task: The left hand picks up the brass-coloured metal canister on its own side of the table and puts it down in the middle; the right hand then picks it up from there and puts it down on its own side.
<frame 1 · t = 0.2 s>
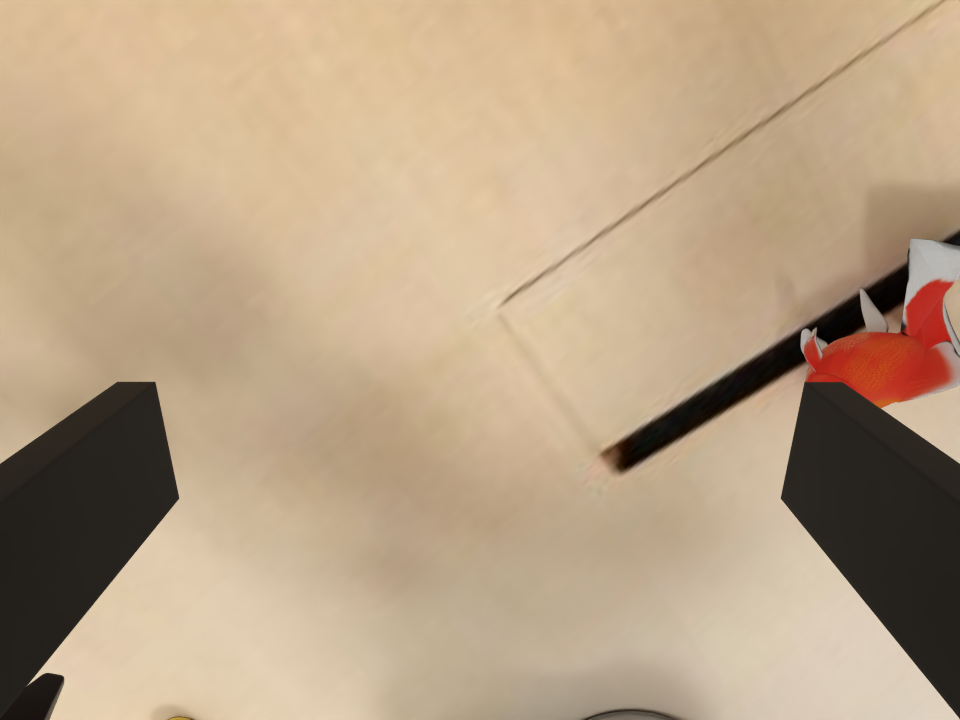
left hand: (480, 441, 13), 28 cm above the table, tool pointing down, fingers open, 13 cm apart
fish: (862, 308, 40), on the table
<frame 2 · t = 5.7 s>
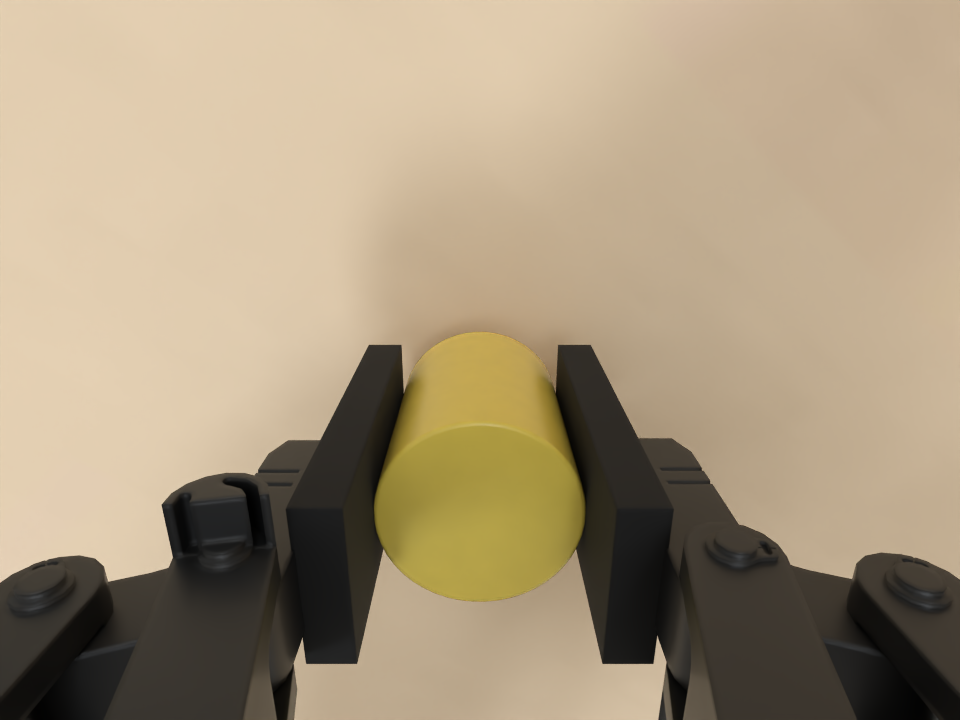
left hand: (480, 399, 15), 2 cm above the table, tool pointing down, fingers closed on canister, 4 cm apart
canister: (479, 401, 15), point 2 cm above the table, touching left hand
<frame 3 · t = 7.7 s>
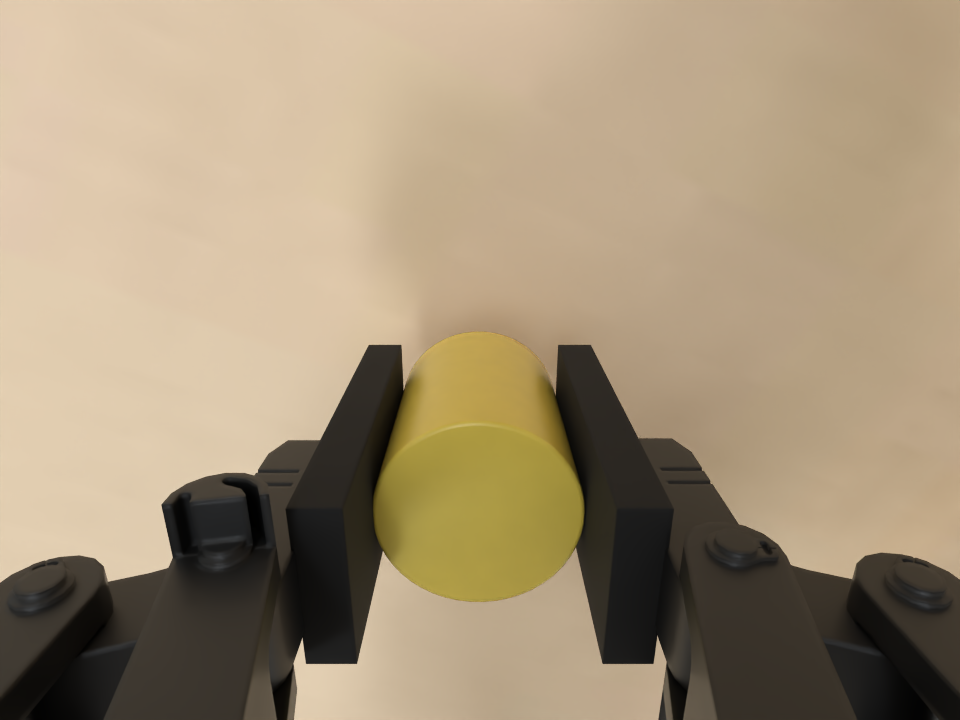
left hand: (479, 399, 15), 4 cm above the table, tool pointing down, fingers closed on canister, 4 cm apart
canister: (478, 401, 15), point 3 cm above the table, touching left hand
when the left hand's fingers open (1 cm above the table, at t = 9.9 s): canister stays where it is, on the table.
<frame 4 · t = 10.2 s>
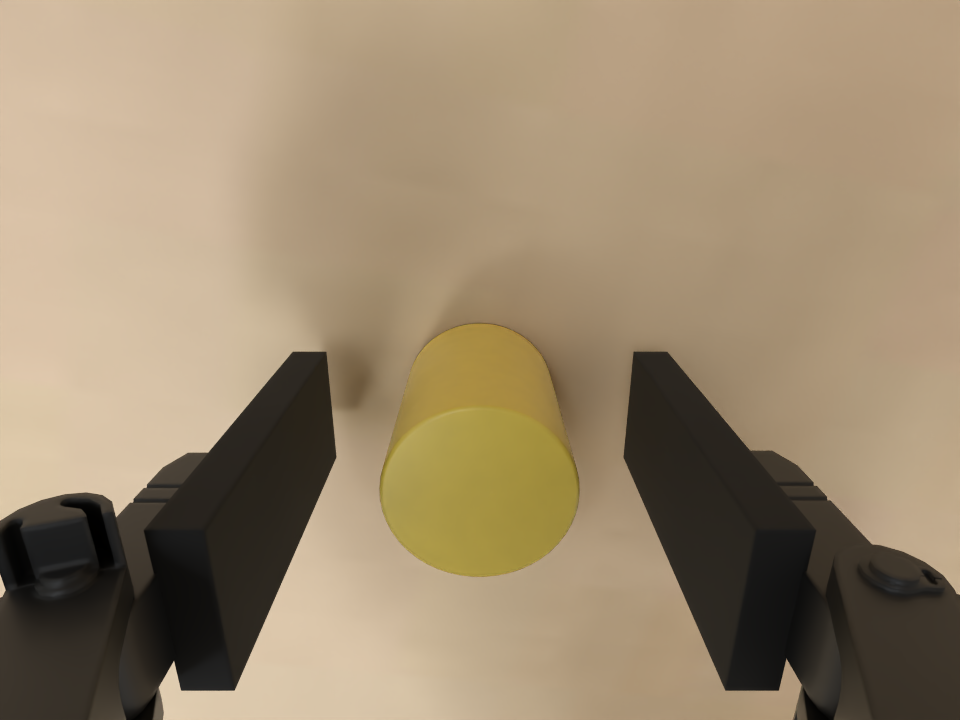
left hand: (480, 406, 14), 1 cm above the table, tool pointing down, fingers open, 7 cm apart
canister: (479, 390, 16), on the table
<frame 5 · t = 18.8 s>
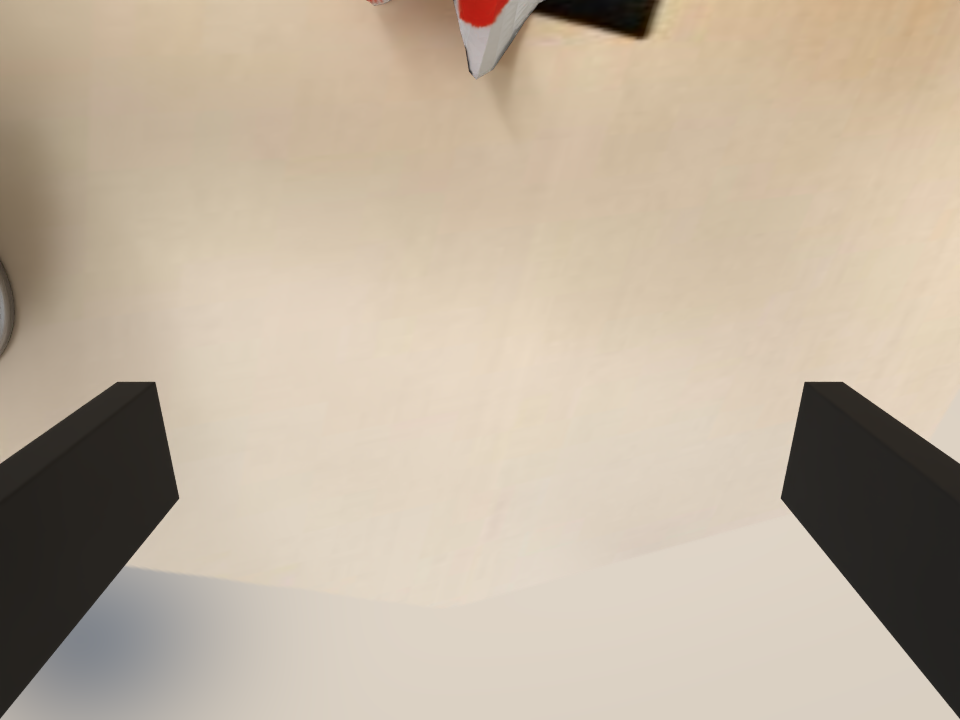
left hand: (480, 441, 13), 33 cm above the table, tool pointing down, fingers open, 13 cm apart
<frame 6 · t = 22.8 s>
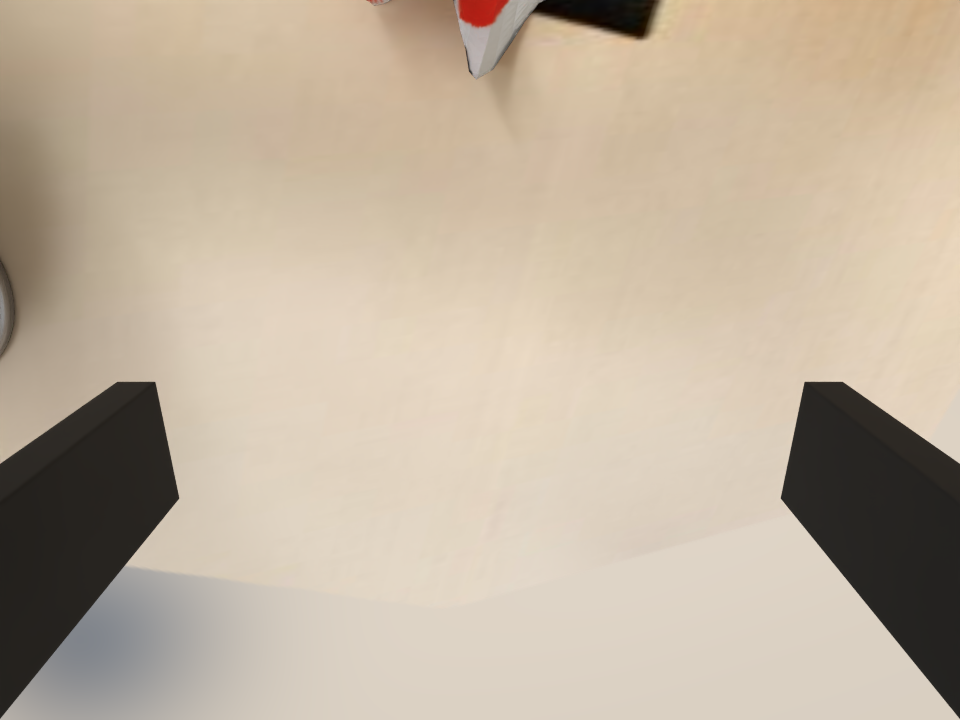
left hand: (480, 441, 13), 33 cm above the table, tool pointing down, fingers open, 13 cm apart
when the right hand's fingers open (2 cm above the table, at t = 27.3 s): canister drops 1 cm, on the table.
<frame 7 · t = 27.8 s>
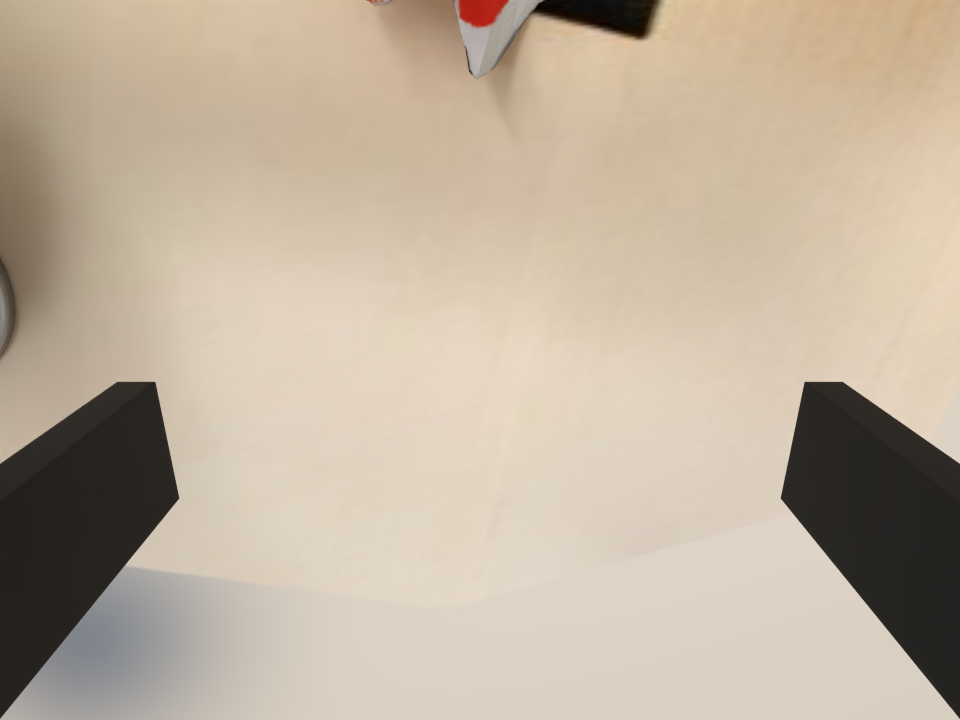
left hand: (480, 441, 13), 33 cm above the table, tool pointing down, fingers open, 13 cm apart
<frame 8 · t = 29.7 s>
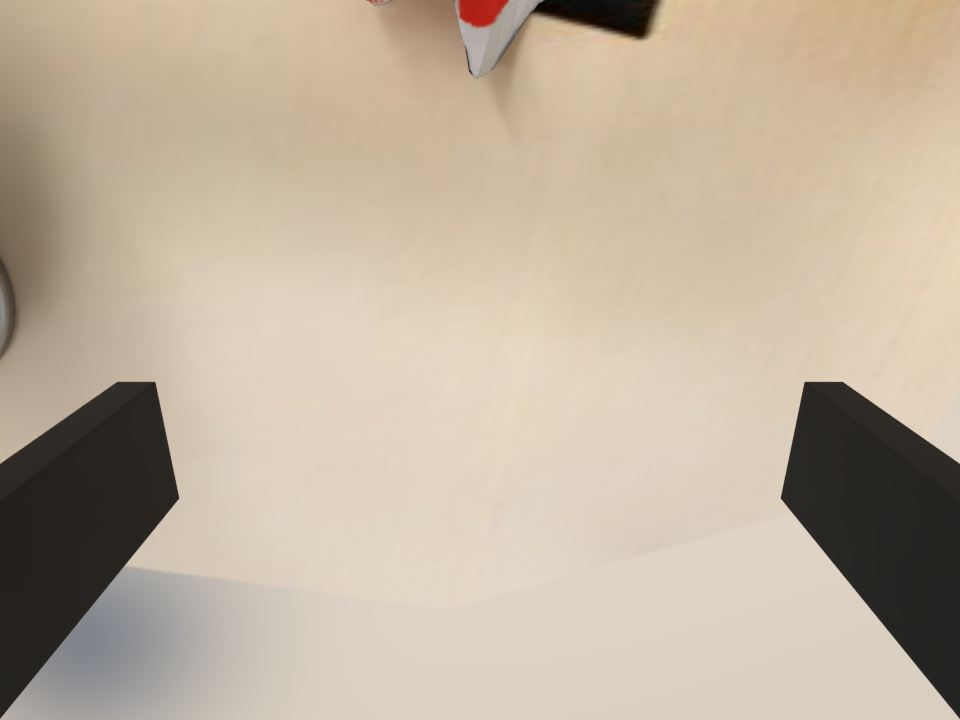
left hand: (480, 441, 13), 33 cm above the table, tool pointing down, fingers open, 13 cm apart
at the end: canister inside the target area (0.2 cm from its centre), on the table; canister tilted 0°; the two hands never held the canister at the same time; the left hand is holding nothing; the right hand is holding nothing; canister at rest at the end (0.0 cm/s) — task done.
